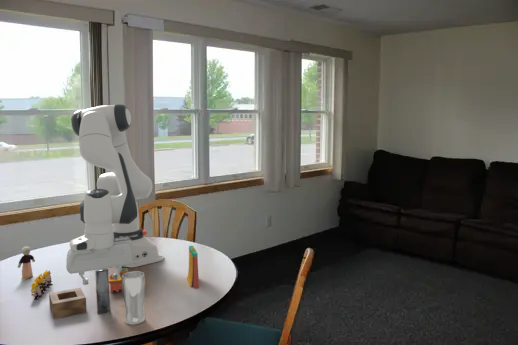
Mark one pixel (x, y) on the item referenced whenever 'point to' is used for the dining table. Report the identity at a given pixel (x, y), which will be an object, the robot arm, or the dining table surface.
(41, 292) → the figurine set
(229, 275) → the dining table surface
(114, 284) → the toy building block set
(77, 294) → the wooden block with hole
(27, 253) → the grandmother figurine
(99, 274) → the metal peg
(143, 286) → the beer glass
